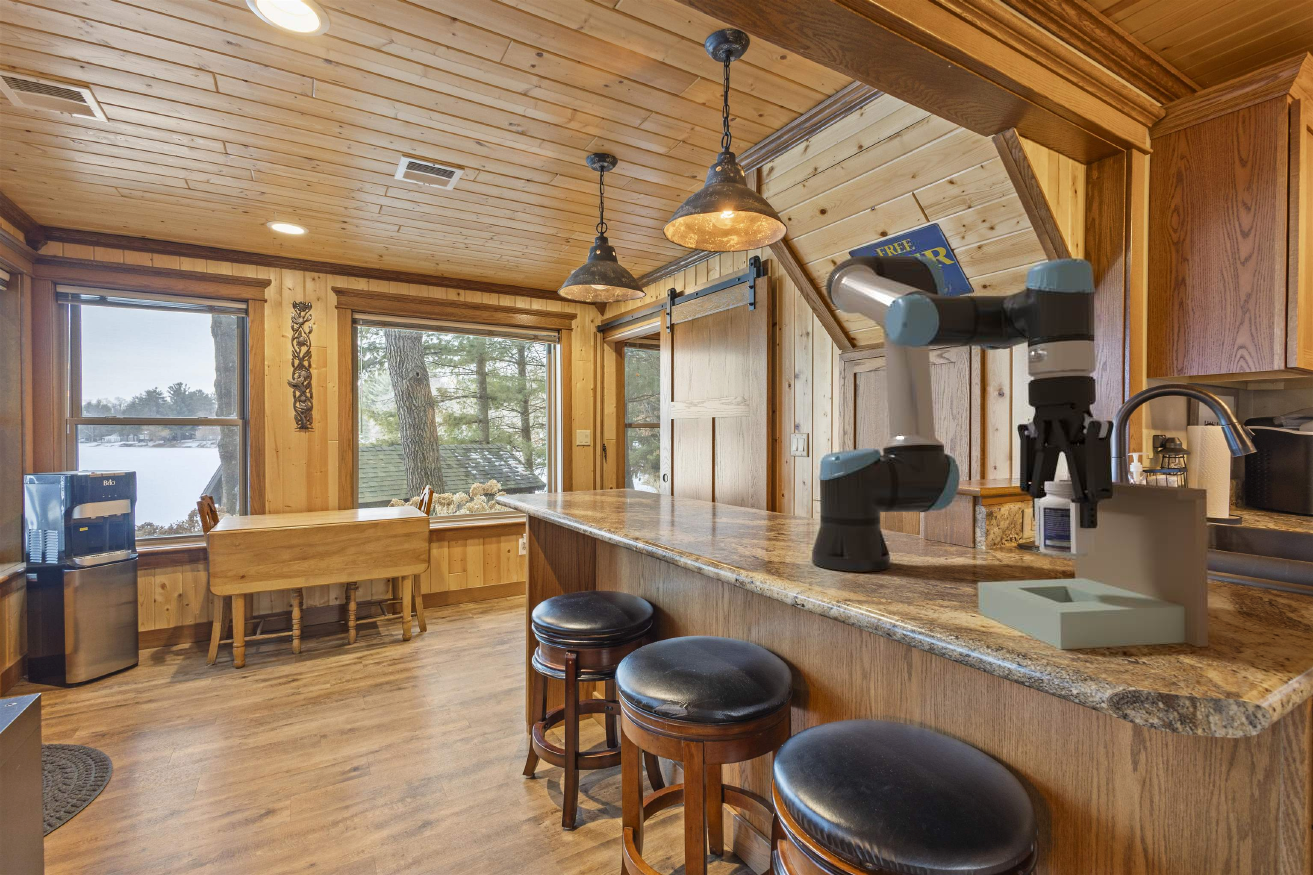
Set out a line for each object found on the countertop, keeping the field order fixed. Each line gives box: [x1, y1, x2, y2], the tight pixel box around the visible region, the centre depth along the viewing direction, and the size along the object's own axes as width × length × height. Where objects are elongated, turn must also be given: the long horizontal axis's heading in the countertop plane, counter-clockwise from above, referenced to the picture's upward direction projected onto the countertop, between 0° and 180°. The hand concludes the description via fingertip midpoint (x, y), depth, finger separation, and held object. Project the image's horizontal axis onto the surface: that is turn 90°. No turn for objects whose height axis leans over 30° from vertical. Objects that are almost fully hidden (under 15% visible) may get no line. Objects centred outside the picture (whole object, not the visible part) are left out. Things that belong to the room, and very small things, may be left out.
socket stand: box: [977, 479, 1209, 651], centre depth 80 cm, size 18×18×19 cm
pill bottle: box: [1039, 480, 1088, 558], centre depth 79 cm, size 5×5×10 cm
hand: (1063, 548), depth 79 cm, fingers closed on pill bottle, 5 cm apart
